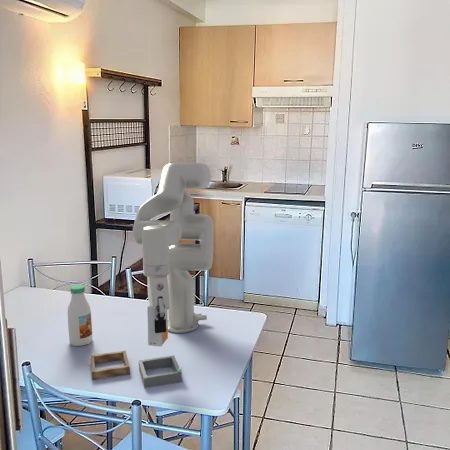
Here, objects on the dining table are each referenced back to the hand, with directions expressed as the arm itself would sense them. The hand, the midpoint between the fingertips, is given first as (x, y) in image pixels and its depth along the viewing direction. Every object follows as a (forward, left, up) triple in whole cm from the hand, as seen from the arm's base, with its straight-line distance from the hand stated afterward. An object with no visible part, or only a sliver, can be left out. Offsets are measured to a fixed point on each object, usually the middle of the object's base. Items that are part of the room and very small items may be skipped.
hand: (158, 326), depth 141 cm
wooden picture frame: (+14, -9, -16) cm, 23 cm away
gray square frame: (0, 0, -16) cm, 16 cm away
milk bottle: (+22, -31, -16) cm, 41 cm away
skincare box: (0, 0, -5) cm, 5 cm away
